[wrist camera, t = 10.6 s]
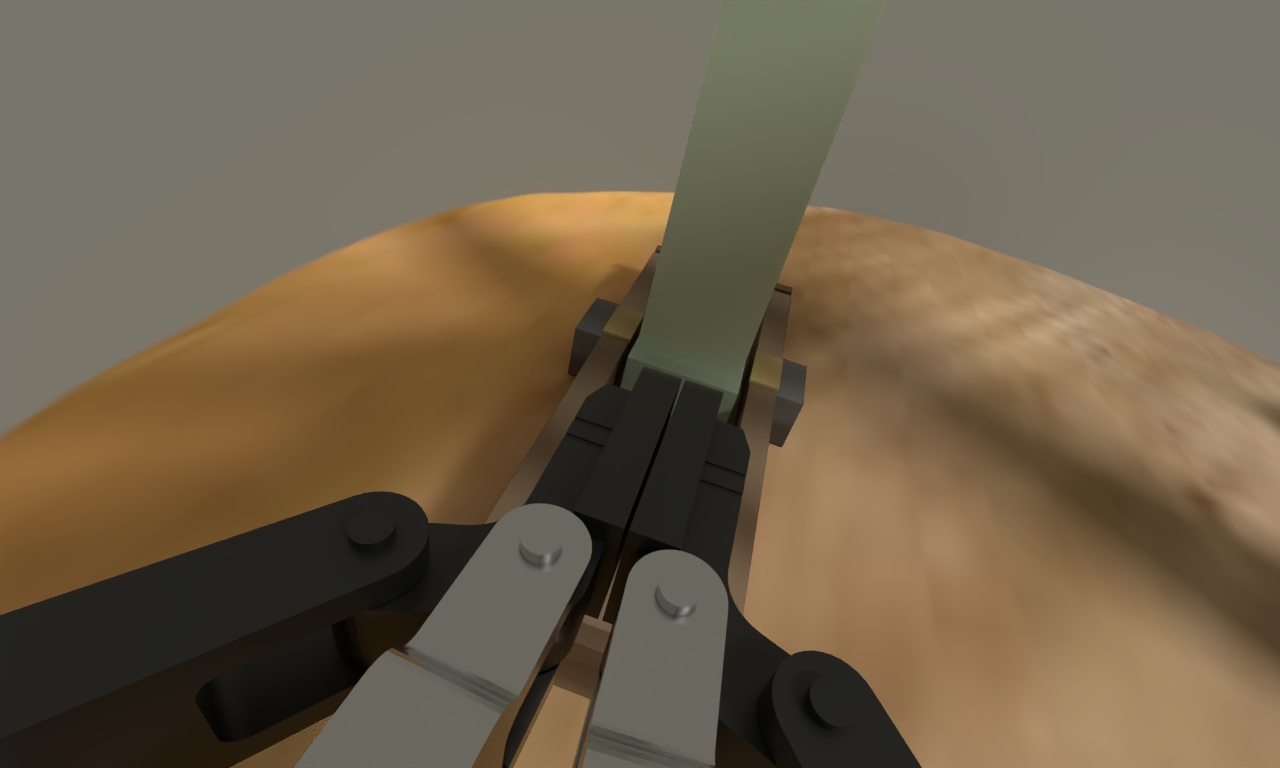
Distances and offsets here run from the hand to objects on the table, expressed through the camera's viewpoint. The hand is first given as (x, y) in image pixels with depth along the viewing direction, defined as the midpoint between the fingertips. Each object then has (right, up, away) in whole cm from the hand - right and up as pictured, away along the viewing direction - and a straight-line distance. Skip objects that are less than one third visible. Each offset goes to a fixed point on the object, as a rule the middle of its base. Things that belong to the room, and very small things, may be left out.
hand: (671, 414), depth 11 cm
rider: (+1, 0, +18) cm, 18 cm away
